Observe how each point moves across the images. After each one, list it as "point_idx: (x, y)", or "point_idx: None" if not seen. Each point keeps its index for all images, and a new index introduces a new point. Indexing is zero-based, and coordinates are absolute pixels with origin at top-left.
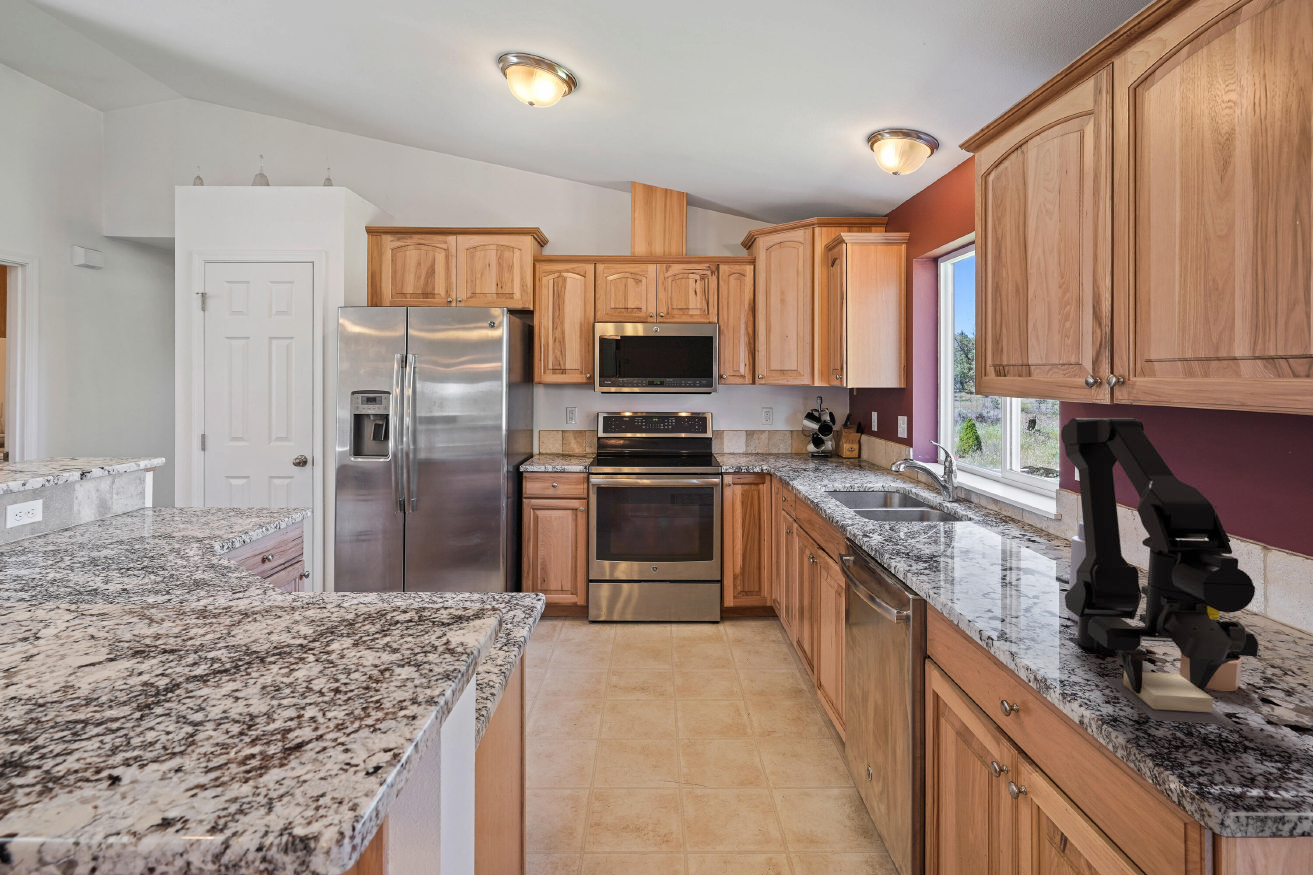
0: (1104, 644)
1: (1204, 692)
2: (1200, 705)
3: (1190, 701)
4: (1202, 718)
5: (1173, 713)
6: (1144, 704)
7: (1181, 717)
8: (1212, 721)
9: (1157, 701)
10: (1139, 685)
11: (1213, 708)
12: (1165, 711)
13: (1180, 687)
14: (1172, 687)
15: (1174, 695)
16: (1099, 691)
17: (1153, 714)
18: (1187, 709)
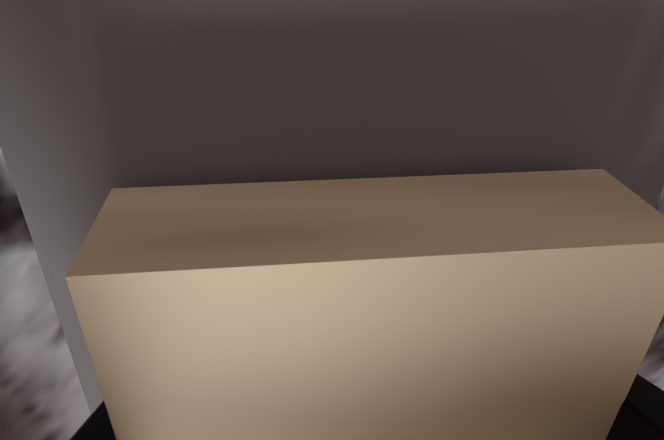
0: None
1: (104, 380)
2: (219, 213)
3: (317, 232)
4: (248, 89)
5: (453, 144)
6: None
7: (435, 81)
8: (184, 36)
9: (614, 206)
10: (637, 394)
11: (53, 282)
12: (497, 167)
13: (298, 423)
14: (379, 409)
15: (491, 261)
16: (656, 382)
17: (640, 100)
18: (333, 184)
